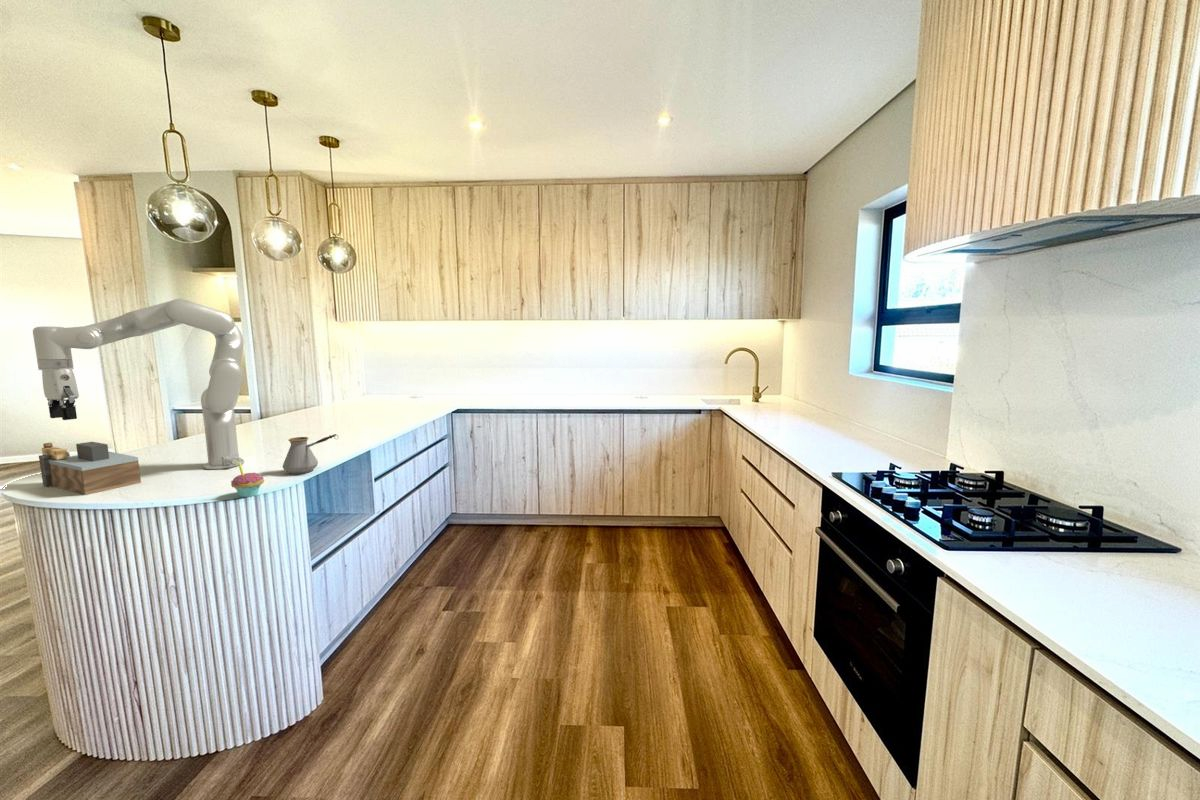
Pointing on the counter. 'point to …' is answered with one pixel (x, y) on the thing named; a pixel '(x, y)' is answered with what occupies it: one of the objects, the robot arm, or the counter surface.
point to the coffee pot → (301, 456)
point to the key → (54, 451)
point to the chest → (89, 476)
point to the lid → (92, 457)
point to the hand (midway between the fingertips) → (63, 418)
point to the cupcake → (247, 483)
